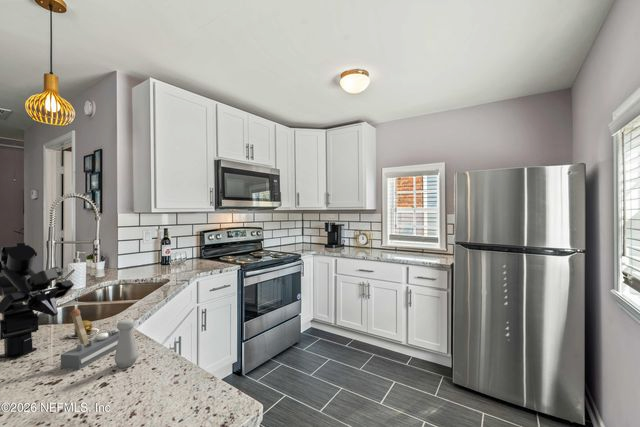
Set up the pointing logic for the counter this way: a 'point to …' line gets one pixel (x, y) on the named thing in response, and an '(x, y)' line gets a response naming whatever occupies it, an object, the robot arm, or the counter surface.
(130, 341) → the salt shaker
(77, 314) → the ash lever
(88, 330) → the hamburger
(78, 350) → the console
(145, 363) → the counter surface
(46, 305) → the robot arm
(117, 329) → the block
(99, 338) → the white button
